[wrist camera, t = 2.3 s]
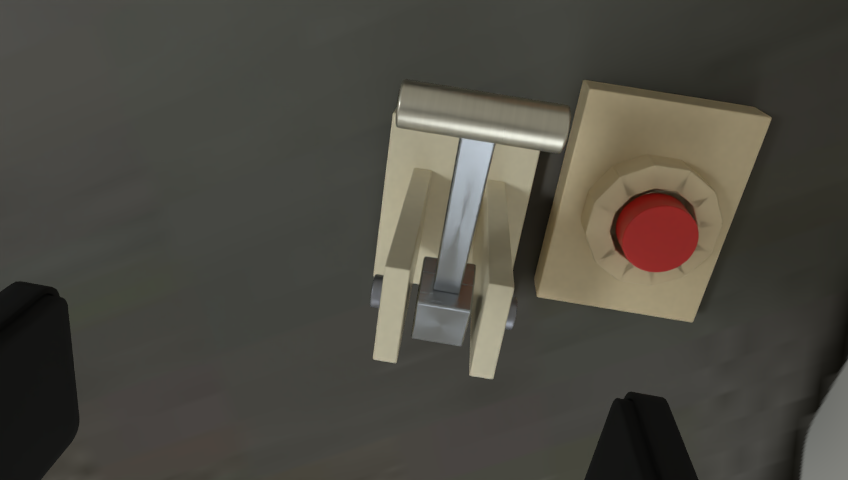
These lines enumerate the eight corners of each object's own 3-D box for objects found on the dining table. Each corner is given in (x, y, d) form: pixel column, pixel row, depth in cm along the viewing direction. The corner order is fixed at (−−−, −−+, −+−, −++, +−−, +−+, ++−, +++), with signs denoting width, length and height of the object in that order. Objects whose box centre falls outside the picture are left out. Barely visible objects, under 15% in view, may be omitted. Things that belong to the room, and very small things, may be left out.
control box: (583, 79, 33) (595, 96, 29) (755, 106, 33) (789, 127, 29) (533, 278, 38) (539, 314, 35) (682, 303, 38) (703, 341, 35)
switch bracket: (395, 107, 34) (352, 191, 23) (541, 130, 34) (571, 227, 23) (375, 267, 39) (331, 407, 27) (505, 289, 39) (515, 437, 27)
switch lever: (406, 59, 19) (393, 109, 18) (571, 85, 19) (572, 138, 18) (387, 287, 29) (378, 333, 27) (497, 305, 28) (494, 352, 27)
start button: (626, 187, 32) (633, 200, 30) (698, 198, 32) (709, 212, 30) (607, 251, 33) (613, 266, 32) (675, 262, 33) (685, 278, 32)
